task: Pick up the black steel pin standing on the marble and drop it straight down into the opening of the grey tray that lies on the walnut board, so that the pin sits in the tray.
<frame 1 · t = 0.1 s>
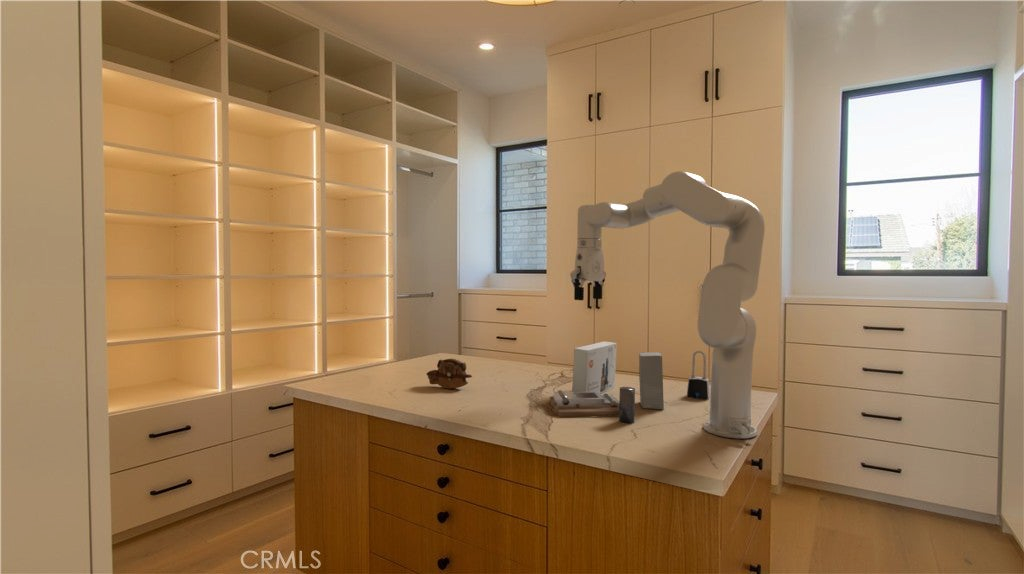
hand: (588, 299, 160), 31 cm above the worktop, tool pointing down, fingers open, 9 cm apart
walnut board: (586, 408, 149), on the worktop
skincare box 2: (594, 393, 167), on the worktop
grey tray: (586, 399, 149), point 3 cm above the worktop
padlock: (698, 397, 163), on the worktop
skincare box: (650, 406, 152), on the worktop
pin: (626, 421, 136), on the worktop
wooden carving: (449, 389, 171), on the worktop
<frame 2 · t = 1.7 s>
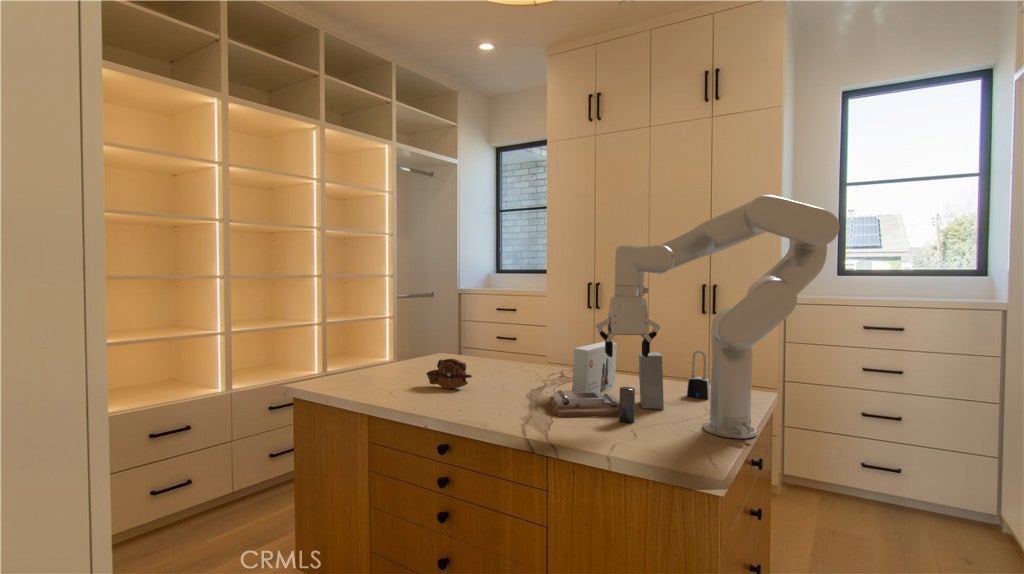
hand: (627, 356, 136), 18 cm above the worktop, tool pointing down, fingers open, 9 cm apart
nothing on the worktop moved.
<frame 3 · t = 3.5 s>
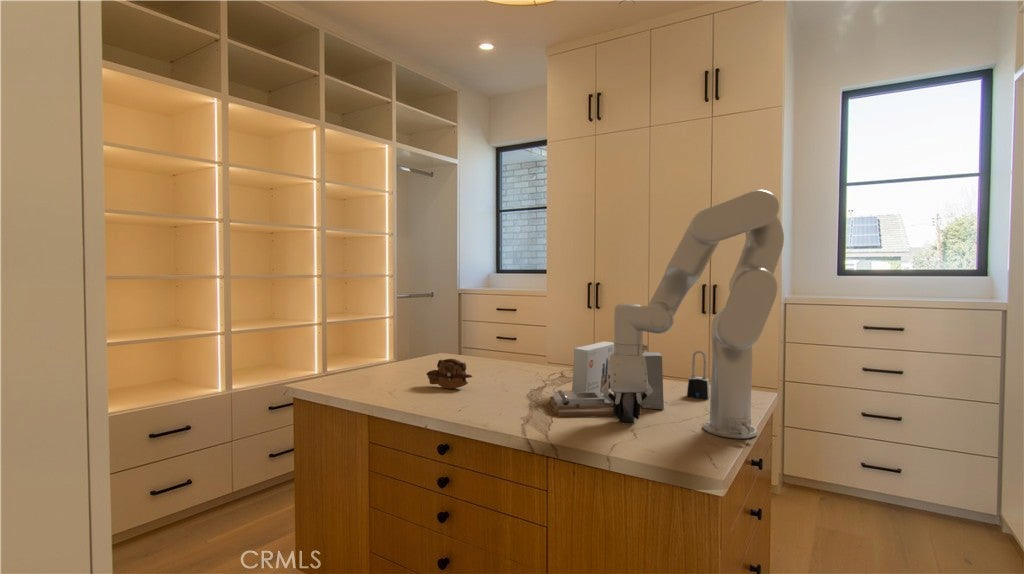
hand: (626, 416, 136), 1 cm above the worktop, tool pointing down, fingers closed on pin, 4 cm apart
pin: (626, 421, 136), on the worktop, touching gripper
everything else where it was.
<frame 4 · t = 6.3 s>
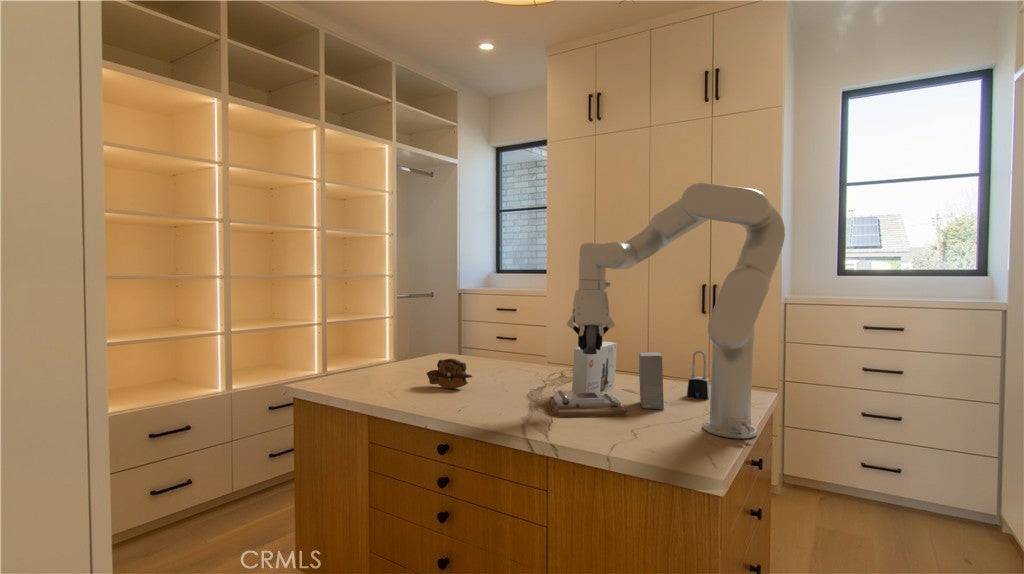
hand: (589, 348, 147), 18 cm above the worktop, tool pointing down, fingers closed on pin, 4 cm apart
pin: (589, 353, 147), point 17 cm above the worktop, touching gripper
everything else where it was.
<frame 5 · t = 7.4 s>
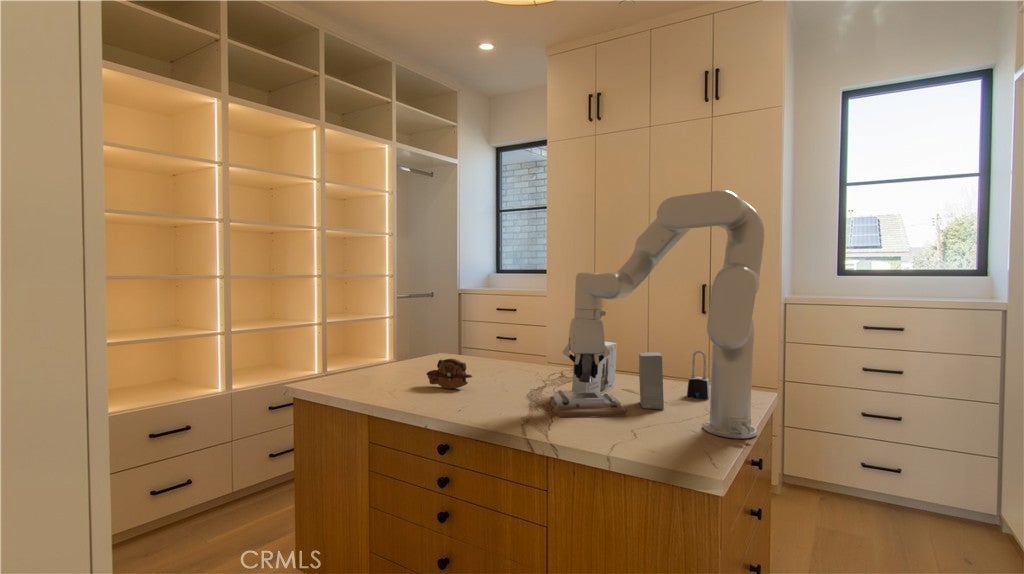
hand: (585, 376, 148), 9 cm above the worktop, tool pointing down, fingers closed on pin, 4 cm apart
pin: (585, 380, 149), point 8 cm above the worktop, touching gripper
everything else where it was.
when the fingers open (4 cm above the worktop, at t = 8.6 s): pin drops 1 cm, resting on walnut board.
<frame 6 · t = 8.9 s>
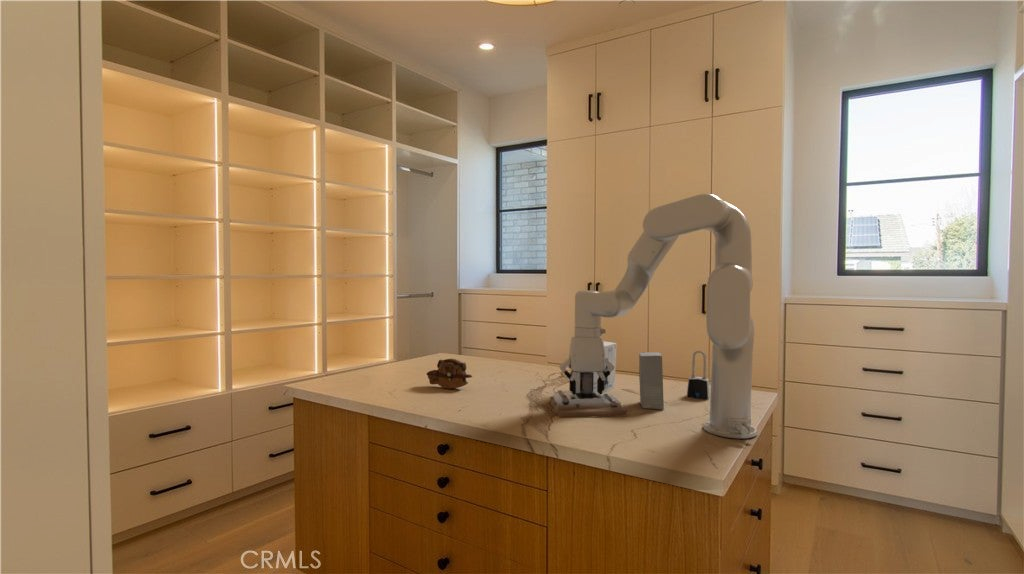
hand: (586, 392, 148), 5 cm above the worktop, tool pointing down, fingers open, 7 cm apart
pin: (586, 403, 149), point 2 cm above the worktop, touching walnut board
everything else where it was.
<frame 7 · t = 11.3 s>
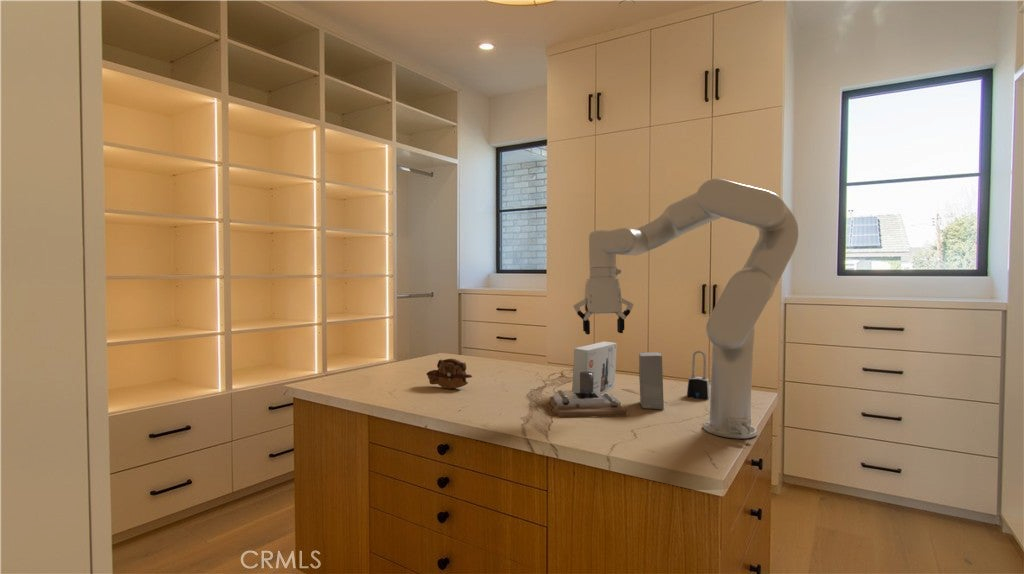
hand: (603, 333, 146), 22 cm above the worktop, tool pointing down, fingers open, 9 cm apart
nothing on the worktop moved.
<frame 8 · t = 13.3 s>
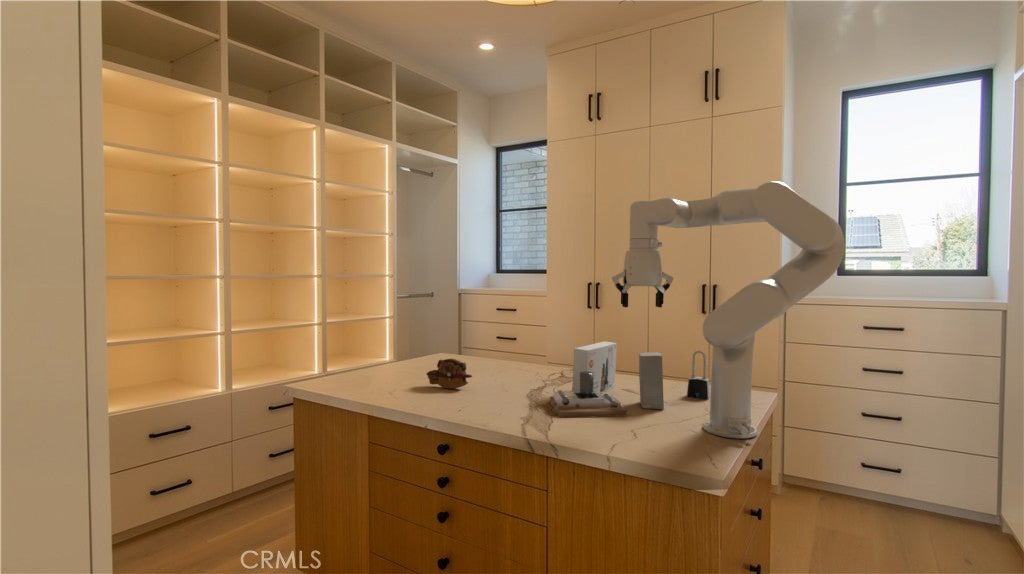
hand: (641, 307, 143), 30 cm above the worktop, tool pointing down, fingers open, 9 cm apart
nothing on the worktop moved.
at the end: pin 0.1 cm off-centre on the grey tray, point 1.5 cm above the grey tray's base; pin tilted 0°; the gripper is holding nothing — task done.
